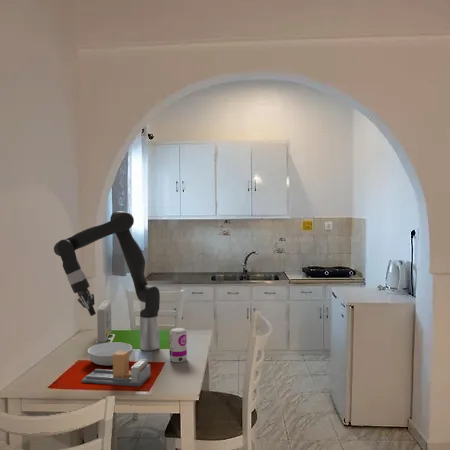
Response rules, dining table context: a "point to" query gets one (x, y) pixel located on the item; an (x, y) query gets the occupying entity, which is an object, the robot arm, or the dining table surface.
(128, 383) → the rail
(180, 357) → the supplement can
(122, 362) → the block
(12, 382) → the dining table surface
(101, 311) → the network device
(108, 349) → the serving bowl
